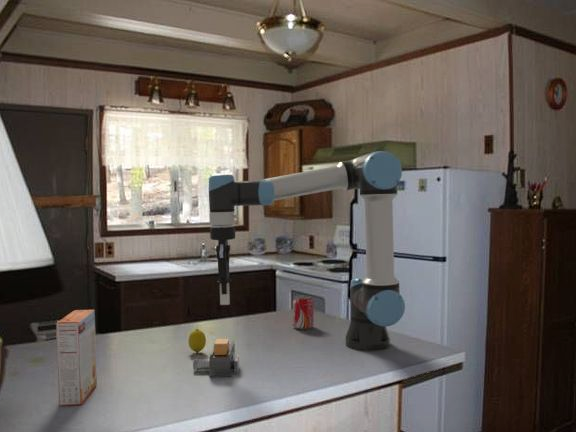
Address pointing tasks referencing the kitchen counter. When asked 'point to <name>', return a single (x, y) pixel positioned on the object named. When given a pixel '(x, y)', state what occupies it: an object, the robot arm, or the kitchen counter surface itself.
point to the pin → (204, 364)
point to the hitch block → (221, 363)
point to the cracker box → (76, 357)
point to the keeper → (221, 347)
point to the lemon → (197, 340)
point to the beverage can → (303, 312)
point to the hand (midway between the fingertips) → (225, 304)
